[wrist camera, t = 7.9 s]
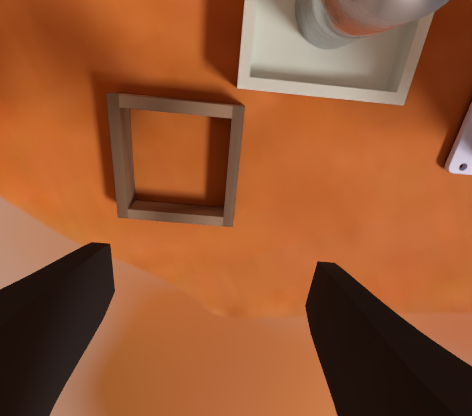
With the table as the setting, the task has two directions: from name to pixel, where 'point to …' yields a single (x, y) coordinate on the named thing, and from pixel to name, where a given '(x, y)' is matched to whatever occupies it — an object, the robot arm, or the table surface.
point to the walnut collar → (124, 159)
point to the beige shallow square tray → (326, 58)
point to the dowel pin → (356, 18)
